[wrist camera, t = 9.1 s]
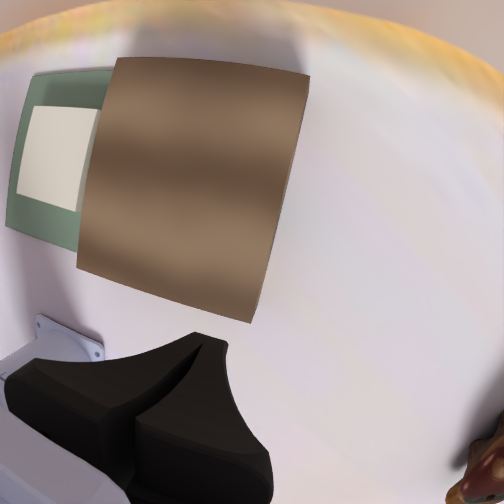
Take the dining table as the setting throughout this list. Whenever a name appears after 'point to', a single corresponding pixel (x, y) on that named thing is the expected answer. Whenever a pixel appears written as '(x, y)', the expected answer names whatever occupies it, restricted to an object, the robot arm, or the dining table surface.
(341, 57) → the dining table surface
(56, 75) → the rubber mat
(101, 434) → the robot arm
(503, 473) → the decorative turtle
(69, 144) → the coaster
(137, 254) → the walnut step
